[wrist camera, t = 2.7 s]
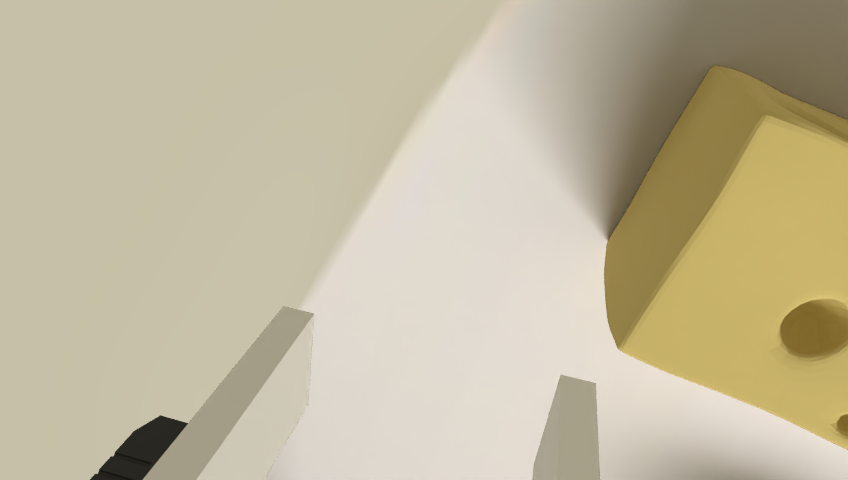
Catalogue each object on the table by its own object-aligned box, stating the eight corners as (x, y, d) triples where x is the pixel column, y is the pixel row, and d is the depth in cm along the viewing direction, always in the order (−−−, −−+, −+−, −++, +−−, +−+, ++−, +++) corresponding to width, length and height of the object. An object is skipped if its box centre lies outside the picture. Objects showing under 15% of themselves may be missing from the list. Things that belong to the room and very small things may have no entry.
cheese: (929, 141, 27) (1102, 237, 18) (779, 329, 32) (857, 475, 23) (704, 48, 27) (766, 97, 18) (590, 248, 32) (596, 361, 23)
